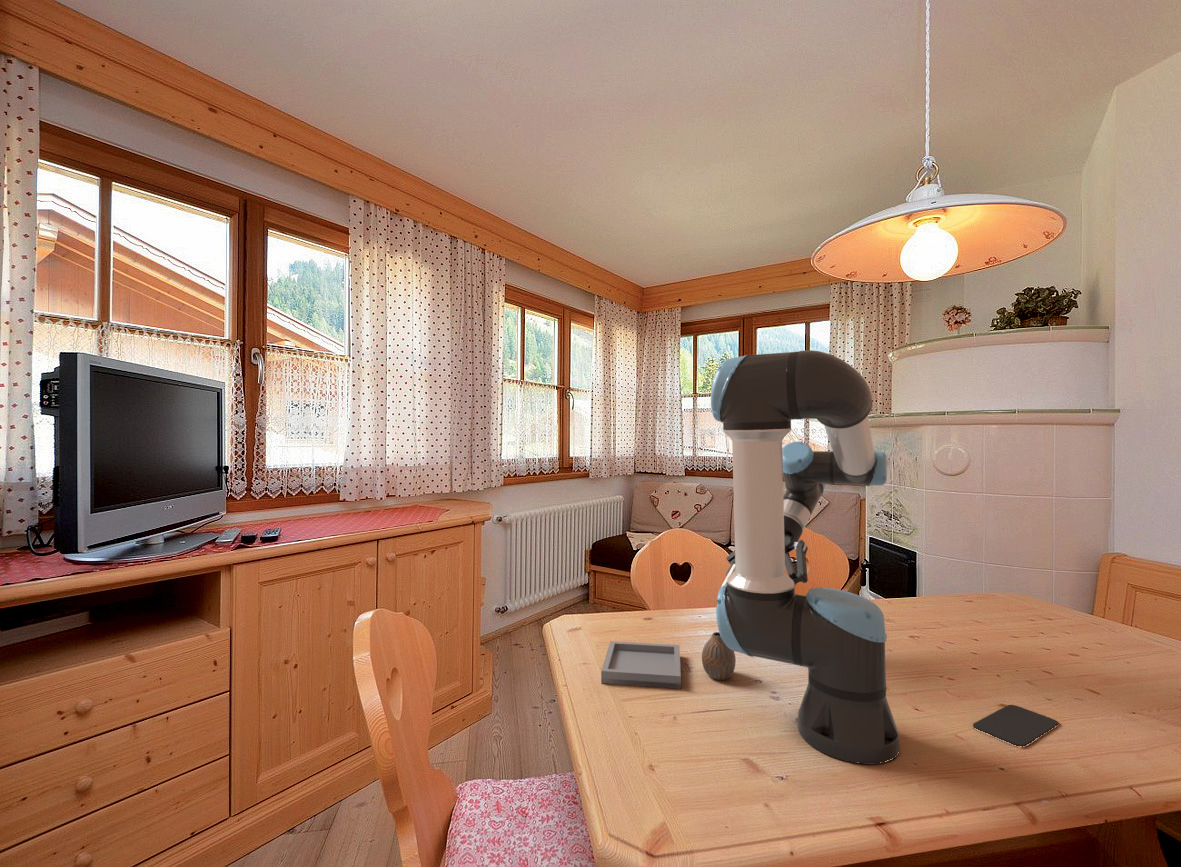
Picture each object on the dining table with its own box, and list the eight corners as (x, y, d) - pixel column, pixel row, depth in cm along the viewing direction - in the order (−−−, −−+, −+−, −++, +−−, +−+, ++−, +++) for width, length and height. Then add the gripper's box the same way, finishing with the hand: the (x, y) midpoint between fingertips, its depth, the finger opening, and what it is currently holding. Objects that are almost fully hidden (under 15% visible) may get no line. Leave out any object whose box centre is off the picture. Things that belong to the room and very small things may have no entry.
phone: (1061, 722, 89) (1022, 746, 82) (1062, 726, 89) (1022, 752, 82) (1010, 703, 96) (969, 724, 88) (1010, 707, 96) (969, 729, 88)
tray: (680, 688, 103) (680, 676, 103) (601, 683, 105) (601, 671, 105) (679, 656, 118) (679, 645, 119) (610, 651, 121) (610, 641, 121)
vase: (741, 675, 109) (741, 633, 109) (725, 686, 103) (725, 643, 104) (712, 666, 113) (712, 625, 113) (695, 676, 108) (695, 634, 108)
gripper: (844, 540, 115) (808, 622, 106) (751, 526, 136) (713, 593, 127) (832, 519, 112) (793, 601, 103) (738, 507, 133) (698, 575, 123)
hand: (749, 597), depth 115 cm, fingers open, 13 cm apart
